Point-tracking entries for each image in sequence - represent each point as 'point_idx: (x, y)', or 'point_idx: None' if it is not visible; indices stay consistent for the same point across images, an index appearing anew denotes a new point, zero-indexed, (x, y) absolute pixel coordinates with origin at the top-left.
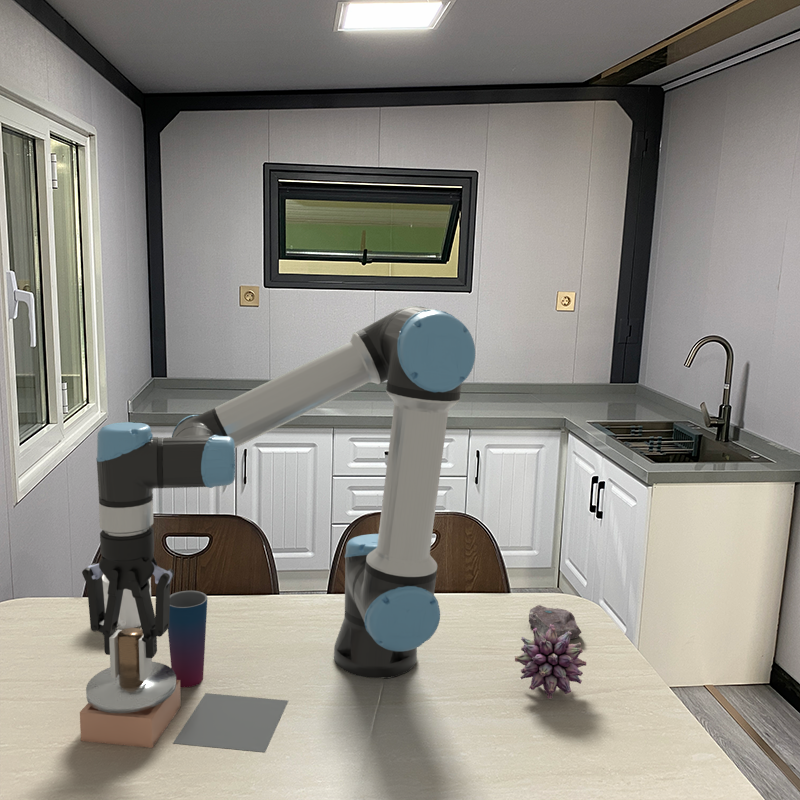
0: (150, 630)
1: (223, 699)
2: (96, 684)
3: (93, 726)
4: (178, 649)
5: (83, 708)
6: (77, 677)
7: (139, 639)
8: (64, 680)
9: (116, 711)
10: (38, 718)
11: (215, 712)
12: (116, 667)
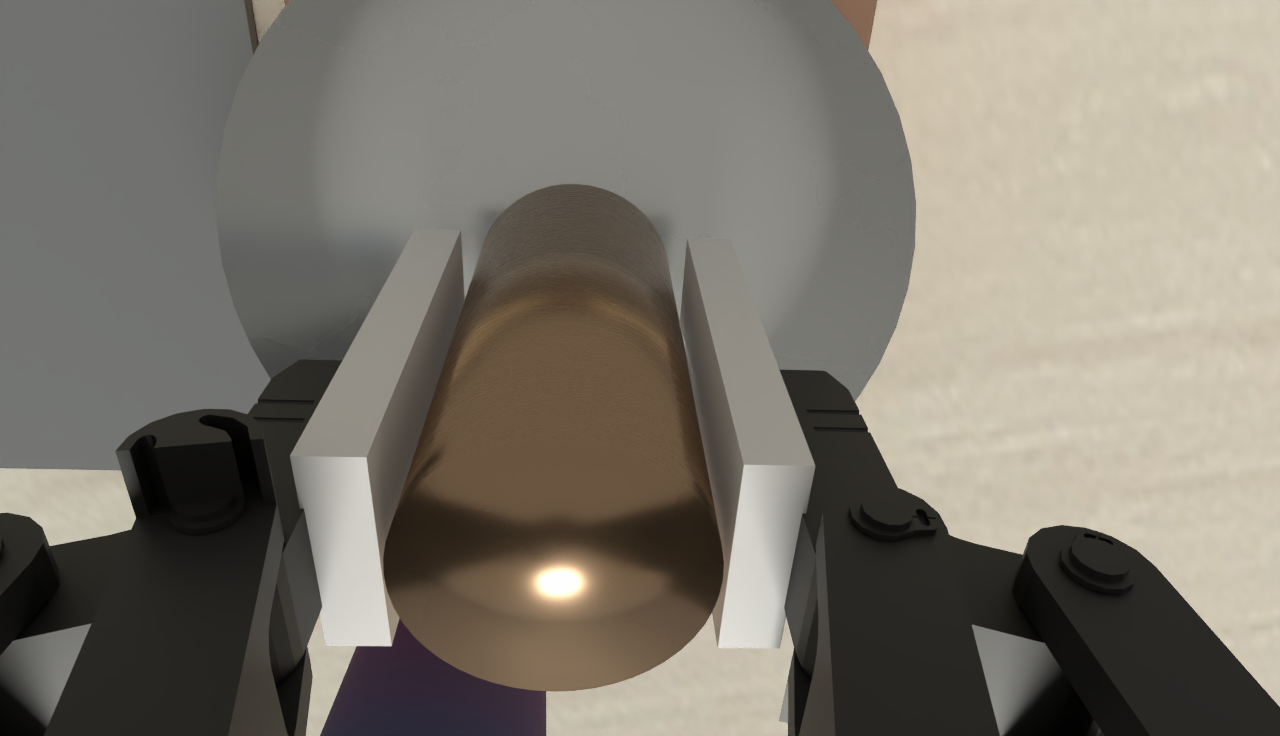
0: (116, 589)
1: None
2: (841, 211)
3: None
4: (443, 670)
5: (869, 22)
6: (1017, 524)
7: (362, 472)
8: (1073, 497)
9: None
10: (1134, 174)
11: (172, 322)
12: (693, 297)
